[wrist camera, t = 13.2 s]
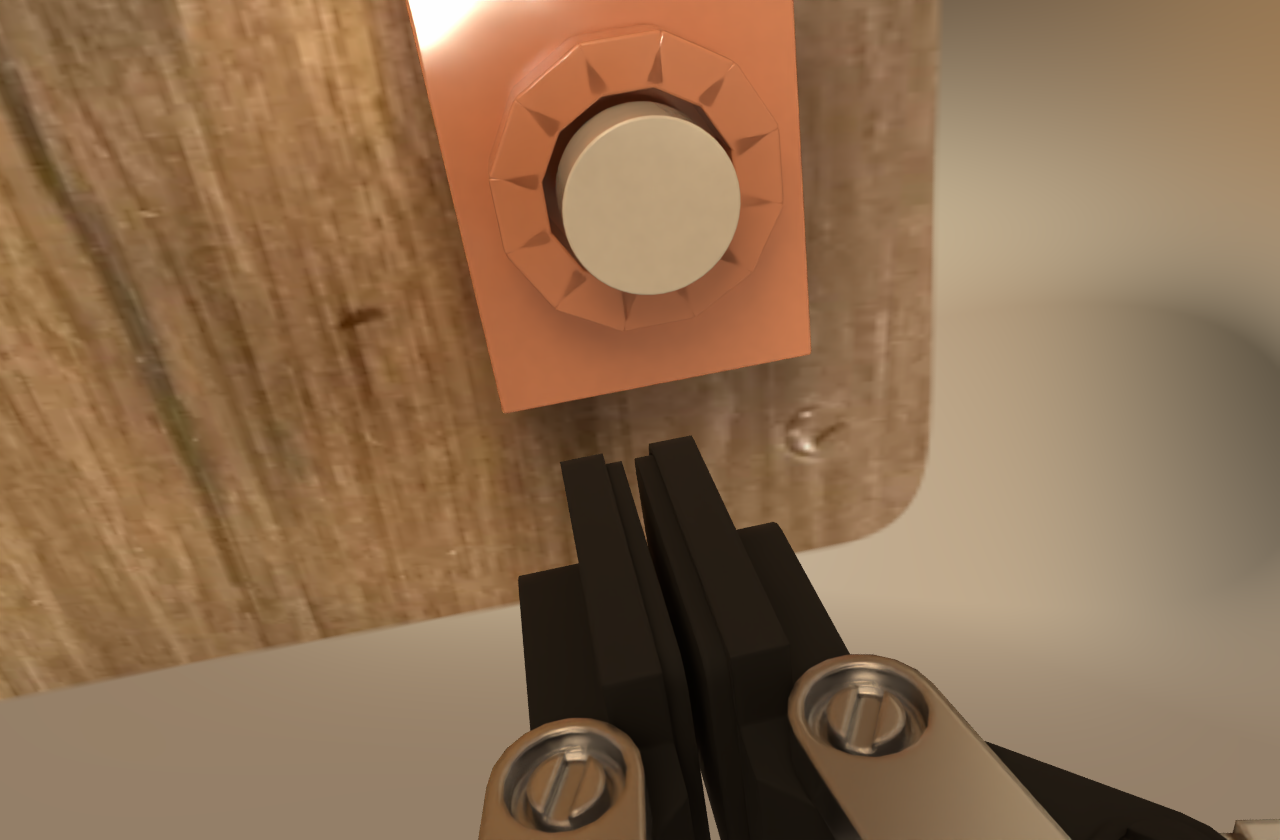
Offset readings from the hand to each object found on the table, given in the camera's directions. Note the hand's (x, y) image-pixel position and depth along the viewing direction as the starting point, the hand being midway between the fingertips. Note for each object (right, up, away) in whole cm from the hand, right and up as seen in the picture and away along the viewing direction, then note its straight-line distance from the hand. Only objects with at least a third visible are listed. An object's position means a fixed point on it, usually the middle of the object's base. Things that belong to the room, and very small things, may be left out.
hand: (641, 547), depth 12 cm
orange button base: (-1, +9, +14) cm, 17 cm away
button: (0, +7, +10) cm, 13 cm away
